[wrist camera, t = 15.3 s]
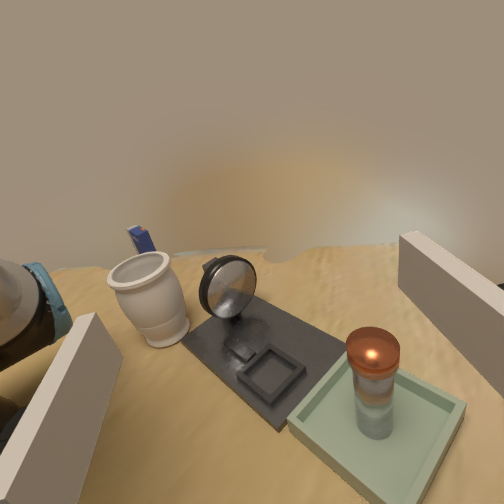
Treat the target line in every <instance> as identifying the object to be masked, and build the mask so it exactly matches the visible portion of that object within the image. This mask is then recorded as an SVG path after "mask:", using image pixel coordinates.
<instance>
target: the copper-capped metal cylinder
mask: <svg viewBox="0 0 504 504" xmlns="http://www.w3.org/2000/svg"><path fill="white" fill-rule="evenodd" d="M346 351H347V360H348V364H349V366H350V368H351V369H352V373H353V386H354V399H355V412H356V423H357V426H358V428H359V430H360V431H361V432H362V433H363V434H364V435H365V436H366V437H368V438H370V439H373V440H383V439H386V438H387V437H389V436H390V435H391V433H392V430H393V411H394V374H395V373H396V372H397V370H398V368H399V360H400V346H399V343H398V341H397V339H396V338H395V337H394V336H393V335H392V334H391V333H389V332H388V331H386V330H383V329H381V328H377V327H362V328H359V329H356V330H355V331H353V332H352V333H351V334H350V335H349V336H348V338H347V340H346Z"/></svg>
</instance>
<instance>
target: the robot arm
mask: <svg viewBox="0 0 504 504" xmlns="http://www.w3.org/2000/svg"><path fill="white" fill-rule="evenodd" d="M398 287H399V288H400V289H401V290H402V291H403V292H404V293H405V295H406V296H407V297H408V298H409V299H410V300H411V301H412V302H413V303H414V304H415V305H416V306H417V307H418V308H419V309H420V310H421V311H422V313H423V314H424V315H425V316H426V317H427V318H428V319H429V320H430V321H431V322H432V323H433V324H434V325H435V326H436V327H437V328H438V329H439V331H440V332H441V333H442V334H443V335H444V336H445V337H446V338H447V339H448V340H449V341H450V342H451V343H452V344H453V345H454V346H455V347H456V349H457V350H458V351H459V352H460V353H461V354H462V355H463V356H464V357H465V358H466V359H467V360H468V361H469V362H470V363H471V364H472V365H473V367H474V368H475V369H476V370H477V371H478V372H479V373H480V374H481V375H482V376H483V377H484V378H485V379H486V380H487V381H488V382H489V383H490V385H491V386H492V387H493V388H494V389H495V390H496V391H497V392H498V393H499V394H500V395H501V396H502V397H503V398H504V283H503V284H499V285H495V284H494V283H492V282H491V281H489V280H488V279H486V278H485V277H484V276H482V275H481V274H479V273H478V272H476V271H475V270H474V269H472V268H471V267H469V266H468V265H466V264H465V263H463V262H462V261H460V260H459V259H458V258H456V257H455V256H453V255H452V254H450V253H449V252H448V251H446V250H445V249H443V248H442V247H440V246H439V245H438V244H436V243H435V242H433V241H431V240H430V239H429V238H427V237H426V236H424V235H423V234H421V233H420V232H419V231H417V230H416V231H412V232H408V233H404V234H400V235H399V267H398ZM66 334H68V335H67V337H66V339H65V340H64V342H63V344H62V346H61V348H60V349H59V351H58V353H57V355H56V356H55V358H54V360H53V362H52V364H51V365H50V367H49V369H48V371H47V373H46V374H45V376H44V378H43V380H42V382H41V383H40V385H39V387H38V389H37V391H36V392H35V394H34V396H33V398H32V400H31V401H30V403H29V405H28V406H27V407H23V408H19V407H18V406H17V405H16V404H15V403H14V402H13V401H11V400H9V399H6V398H3V397H0V504H78V502H79V499H80V495H81V492H82V489H83V486H84V482H85V479H86V476H87V473H88V469H89V466H90V463H91V460H92V456H93V453H94V450H95V447H96V443H97V440H98V437H99V434H100V430H101V427H102V424H103V421H104V417H105V414H106V411H107V408H108V404H109V401H110V398H111V395H112V391H113V388H114V385H115V382H116V378H117V375H118V372H119V369H120V365H121V362H122V359H123V356H122V354H121V352H120V351H119V349H118V348H117V346H116V344H115V343H114V341H113V339H112V338H111V336H110V335H109V333H108V331H107V330H106V328H105V326H104V325H103V323H102V322H101V320H100V318H99V317H98V315H97V313H96V312H94V313H90V314H86V315H82V316H78V317H77V319H76V321H75V322H74V324H73V322H72V319H71V316H70V314H69V312H68V310H67V308H66V306H65V305H64V302H63V300H62V298H61V296H60V294H59V292H58V290H57V288H56V287H55V285H54V283H53V281H52V279H51V278H50V276H49V274H48V273H47V271H46V270H45V268H44V267H43V266H42V265H41V264H40V263H38V262H33V263H30V264H24V265H22V266H20V265H19V264H16V263H14V262H10V261H6V260H1V259H0V372H1V371H3V370H5V369H7V368H8V367H10V366H12V365H14V364H16V363H17V362H19V361H21V360H23V359H24V358H26V357H28V356H30V355H32V354H33V353H35V352H37V351H39V350H41V349H42V348H44V347H46V346H48V345H52V344H54V343H55V342H56V341H57V340H58V339H60V338H61V337H63V336H65V335H66Z"/></svg>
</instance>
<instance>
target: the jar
mask: <svg viewBox="0 0 504 504" xmlns="http://www.w3.org/2000/svg"><path fill="white" fill-rule="evenodd" d="M107 282H108V285H109V286H110V287H111V288H112V289H114V290H115V293H116V297H117V300H118V302H119V305H120V307H121V309H122V311H123V312H124V314H125V315H126V317H127V318H128V319H129V320H130V321H131V322H132V323H133V325H134V326H135V327H136V329H137V330H138V331H139V332H140V333H142V334H143V335H144V336H146V341H147V343H148V344H149V345H150V346H152V347H156V348H162V347H167V346H170V345H173V344H175V343H176V342H178V341H179V340H180V339H182V338H183V337H184V336H185V335H186V334H187V332H188V330H189V327H190V322H189V319H188V318H187V317H186V306H185V302H184V296H183V292H182V288H181V285H180V283H179V280H178V278H177V276H176V275H175V273H174V271H173V270H172V269H171V267H170V259H169V256H168V255H167V254H166V253H164V252H157V251H155V252H147V253H143V254H139V255H136V256H134V257H131V258H129V259H127V260H125V261H123V262H122V263H120V264H119V265H117V266H116V267H115V268H114V269H113V270H112V271H111V272H110V273H109V275H108V277H107Z"/></svg>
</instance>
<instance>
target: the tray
mask: <svg viewBox="0 0 504 504" xmlns="http://www.w3.org/2000/svg"><path fill="white" fill-rule="evenodd" d="M466 406H467V403H466V402H464V401H462V400H460V399H458V398H456V397H454V396H453V395H451V394H449V393H447V392H445V391H443V390H441V389H439V388H437V387H435V386H433V385H431V384H429V383H427V382H425V381H423V380H422V379H420V378H418V377H416V376H414V375H412V374H410V373H408V372H406V371H404V370H402V369H400V368H398V370H397V372H396V373H395V374H394V411H393V430H392V433H391V435H390V436H389V437H387V438H386V439H383V440H373V439H370V438H368V437H366V436H365V435H364V434H363V433H362V432H361V431H360V430H359V428H358V426H357V423H356V412H355V399H354V386H353V373H352V369H351V368H350V366H349V364H348V360H347V351H346V352H345V353H344V354H343V355H342V356H341V357H340V358H339V359H338V361H337V362H336V363H335V364H334V365H333V366H332V367H331V368H330V370H329V371H328V372H327V373H326V374H325V375H324V376H323V377H322V379H321V380H320V381H319V382H318V383H317V384H316V385H315V386H314V388H313V389H312V390H311V391H310V392H309V393H308V394H307V395H306V397H305V398H304V399H303V400H302V401H301V402H300V403H299V404H298V406H297V407H296V408H295V409H294V410H293V411H292V412H291V413H290V415H289V416H288V417H287V422H288V426H289V429H290V432H291V433H292V434H293V435H294V436H295V437H296V438H297V439H299V440H300V441H301V442H302V443H303V444H304V445H305V446H306V447H308V448H309V449H310V450H311V451H312V452H313V453H314V454H315V455H317V456H318V457H319V458H320V459H321V460H322V461H323V462H324V463H326V464H327V465H328V466H329V467H330V468H331V469H332V470H334V471H335V472H336V473H337V474H338V475H339V476H340V477H341V478H343V479H344V480H345V481H346V482H347V483H348V484H349V485H350V486H352V487H353V488H354V489H355V490H356V491H357V492H358V493H359V494H361V495H362V496H363V497H364V498H365V499H366V500H367V501H368V502H370V503H371V504H422V502H423V500H424V498H425V496H426V493H427V491H428V489H429V487H430V485H431V483H432V481H433V479H434V477H435V475H436V473H437V471H438V469H439V467H440V465H441V463H442V461H443V459H444V457H445V455H446V453H447V451H448V449H449V447H450V445H451V443H452V441H453V439H454V437H455V435H456V433H457V431H458V429H459V427H460V425H461V423H462V421H463V419H464V415H465V410H466Z"/></svg>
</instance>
